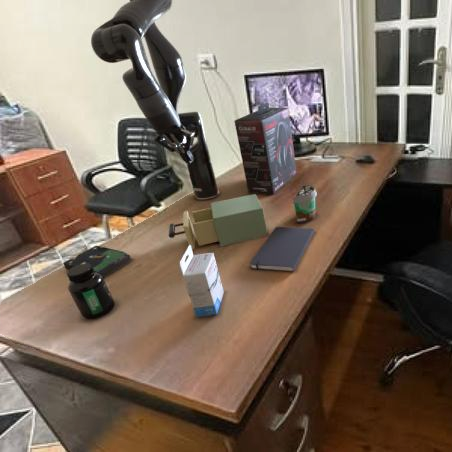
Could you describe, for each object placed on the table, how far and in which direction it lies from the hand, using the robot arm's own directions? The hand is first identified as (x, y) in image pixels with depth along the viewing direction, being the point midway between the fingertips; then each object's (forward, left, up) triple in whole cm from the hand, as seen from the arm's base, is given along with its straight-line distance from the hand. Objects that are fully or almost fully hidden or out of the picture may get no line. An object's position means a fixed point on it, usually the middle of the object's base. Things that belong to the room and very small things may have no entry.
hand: (189, 161), depth 105 cm
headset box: (-14, +42, -24) cm, 50 cm away
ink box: (+33, -21, -24) cm, 46 cm away
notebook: (+30, +6, -24) cm, 39 cm away
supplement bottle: (+12, -38, -24) cm, 47 cm away
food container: (+22, +26, -24) cm, 42 cm away
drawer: (+5, -4, -23) cm, 24 cm away
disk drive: (-10, -30, -24) cm, 40 cm away
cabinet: (+10, +6, -24) cm, 27 cm away
